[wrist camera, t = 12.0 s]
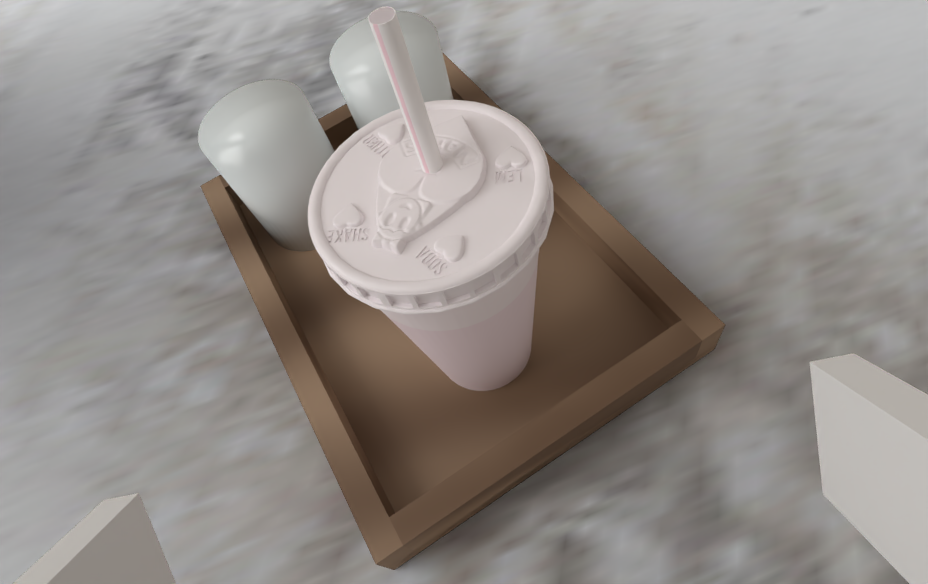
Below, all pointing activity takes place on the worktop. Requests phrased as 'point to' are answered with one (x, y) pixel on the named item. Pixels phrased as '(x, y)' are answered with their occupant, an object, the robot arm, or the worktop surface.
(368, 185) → the smoothie
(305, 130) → the white rounded cylinder
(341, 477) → the tray
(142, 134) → the worktop surface
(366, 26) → the white domed cylinder
